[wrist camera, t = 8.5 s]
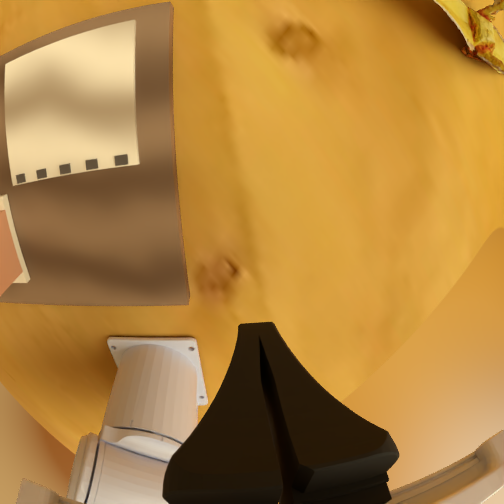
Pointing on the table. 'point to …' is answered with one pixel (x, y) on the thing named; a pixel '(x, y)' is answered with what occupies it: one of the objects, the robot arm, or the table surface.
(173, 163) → the board
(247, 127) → the table surface
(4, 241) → the stub
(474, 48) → the origami crane
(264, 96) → the table surface
